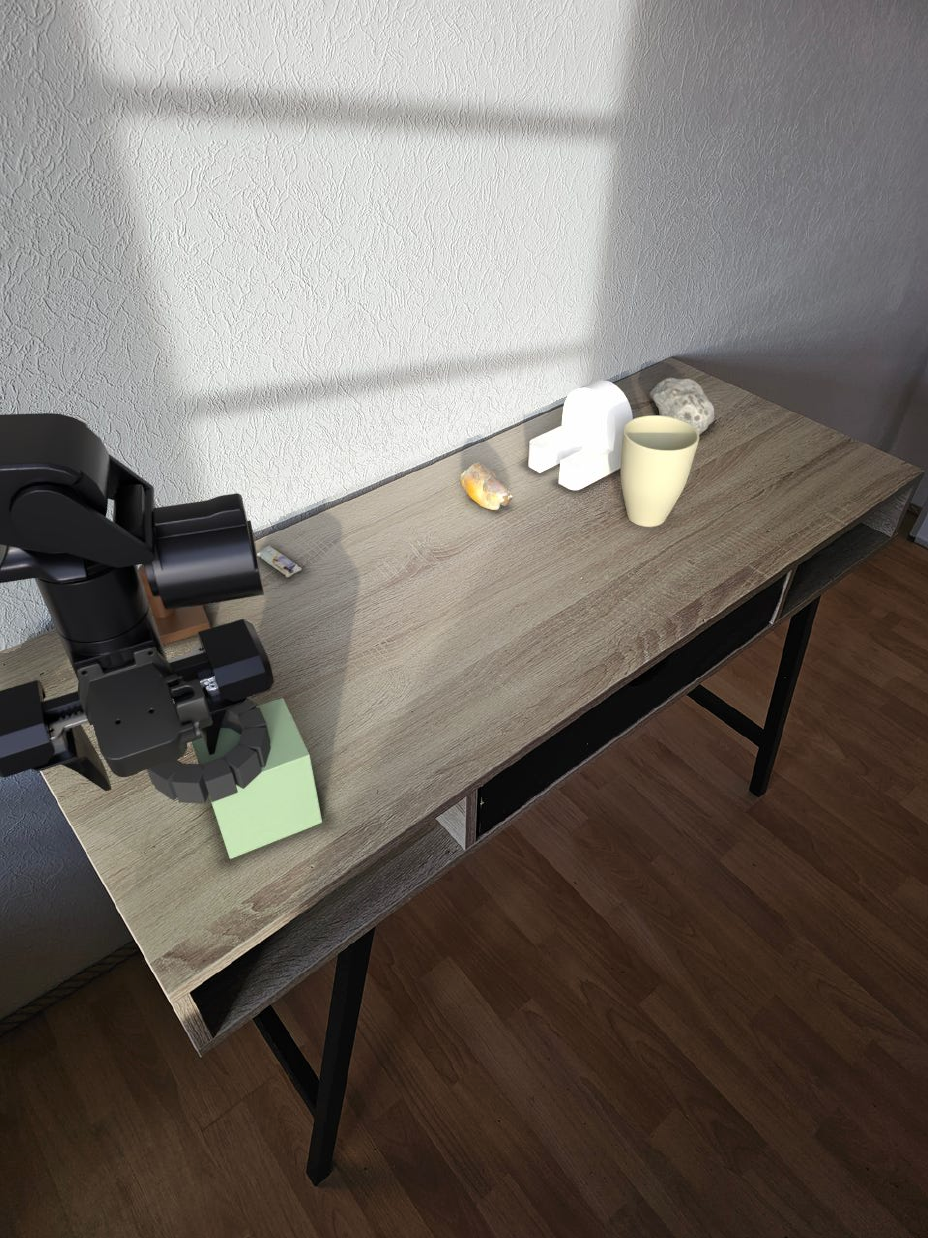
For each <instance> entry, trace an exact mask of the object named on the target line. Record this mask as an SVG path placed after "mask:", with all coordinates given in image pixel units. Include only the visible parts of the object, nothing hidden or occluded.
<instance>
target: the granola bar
mask: <svg viewBox="0 0 928 1238" xmlns="http://www.w3.org/2000/svg"><path fill="white" fill-rule="evenodd" d="M257 556H258V557H260V558H261V560H263V561H264V562H265V563H267V564H268V565H270V566H271V567H272V568H274V569H276V570H278V571H279V572H280V573H282V575H285V578H287V579H288V578H290V577H291V576H293V575H295V574H296V573H298V572H300V571H302V570H303V569H302V567H300V566H299V565H298V564H297V563H295V562H294V561H293V560H291V559H290V558H289V557H287V556H285V555H284V554H283V553H281V552H280V551H278V550H277V549H275V548H274V547H272V546H271V545H267V546H265V547H264V548H263V549H261V550H259V551H257Z"/></svg>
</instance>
